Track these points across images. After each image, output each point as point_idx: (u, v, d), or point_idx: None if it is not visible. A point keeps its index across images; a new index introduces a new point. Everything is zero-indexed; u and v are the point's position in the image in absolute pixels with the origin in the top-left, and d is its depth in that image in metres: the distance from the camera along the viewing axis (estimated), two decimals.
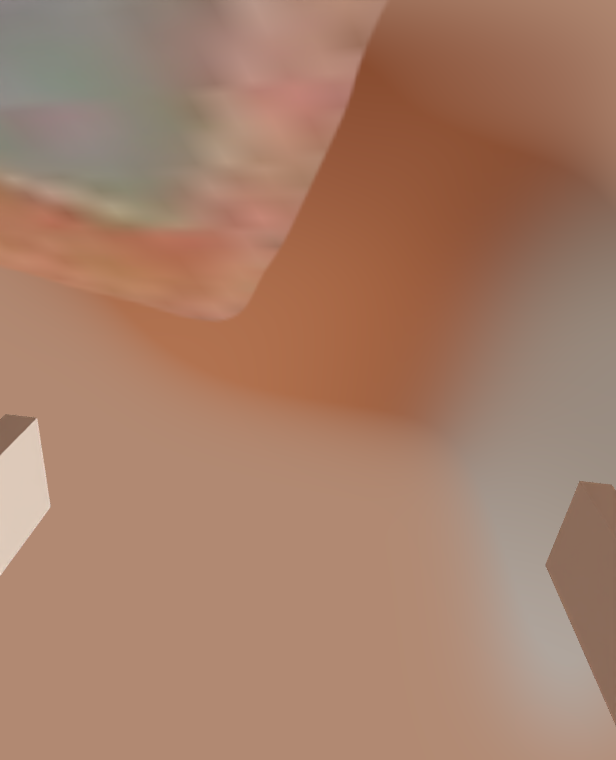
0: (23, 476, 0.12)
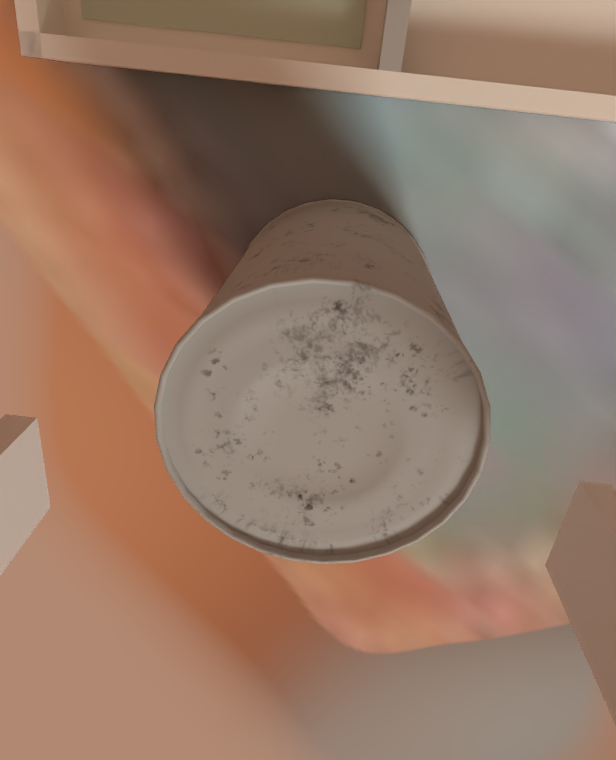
0: (23, 476, 0.12)
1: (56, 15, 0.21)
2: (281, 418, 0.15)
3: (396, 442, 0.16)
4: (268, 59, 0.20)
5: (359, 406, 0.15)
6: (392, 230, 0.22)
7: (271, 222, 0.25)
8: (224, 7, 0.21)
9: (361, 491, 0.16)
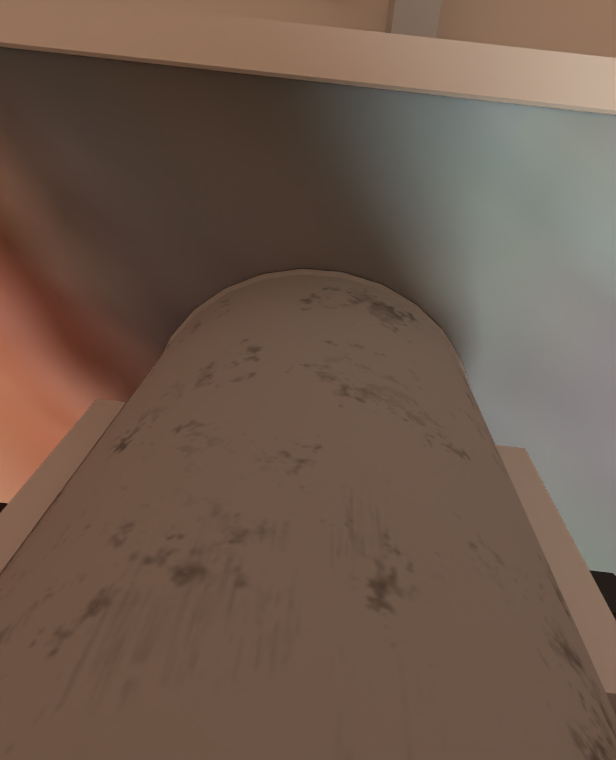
0: None
1: None
2: None
3: None
4: (165, 12, 0.10)
5: None
6: (413, 339, 0.12)
7: (203, 306, 0.14)
8: None
9: None
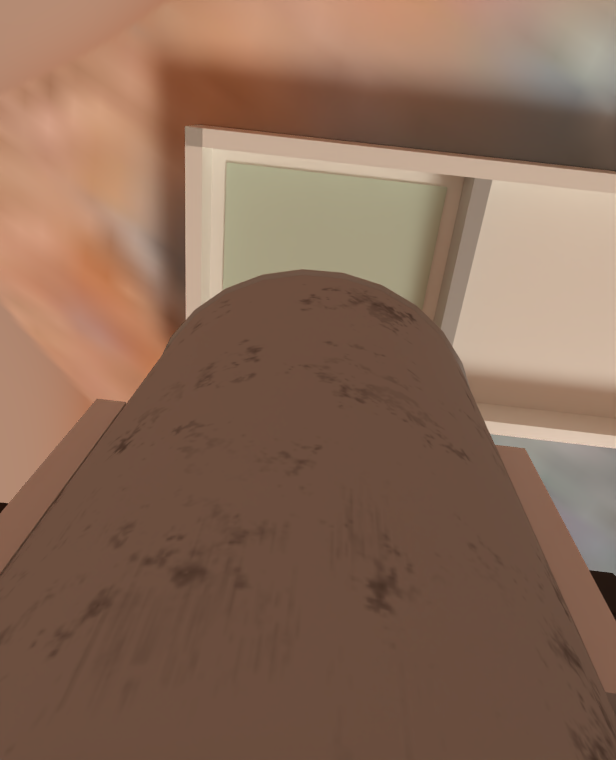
0: None
1: None
2: None
3: None
4: None
5: None
6: (413, 339, 0.12)
7: (203, 306, 0.15)
8: None
9: None
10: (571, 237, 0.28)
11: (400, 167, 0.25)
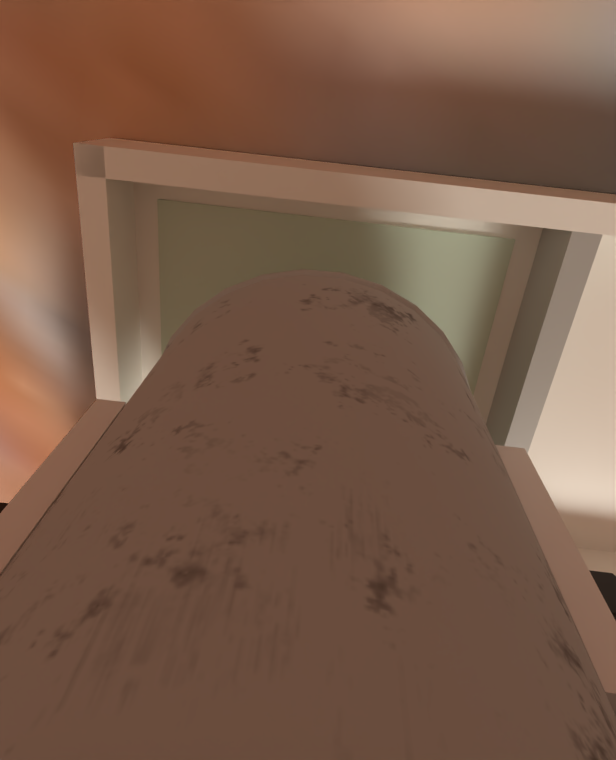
0: None
1: None
2: None
3: None
4: None
5: None
6: (413, 339, 0.12)
7: (203, 306, 0.15)
8: None
9: None
10: None
11: (444, 213, 0.14)
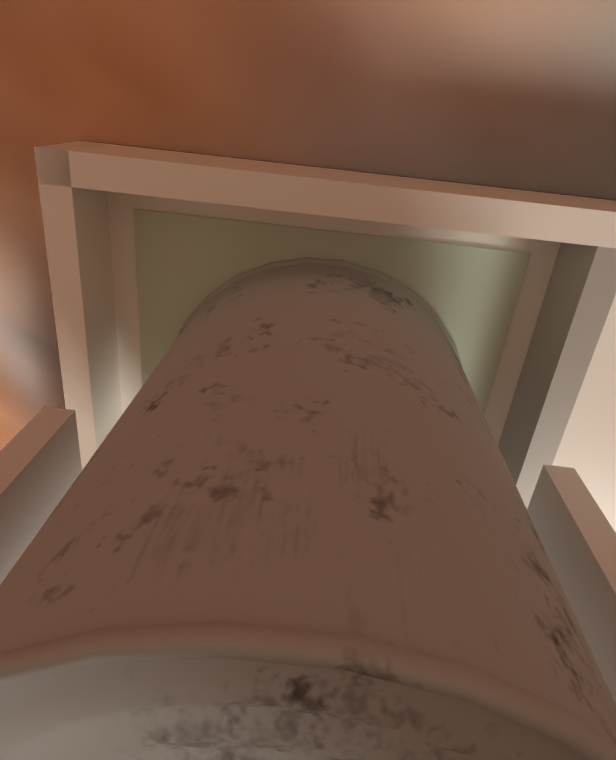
0: (63, 466, 0.13)
1: None
2: None
3: None
4: None
5: None
6: (410, 320, 0.13)
7: (215, 292, 0.16)
8: None
9: None
10: None
11: (453, 226, 0.13)
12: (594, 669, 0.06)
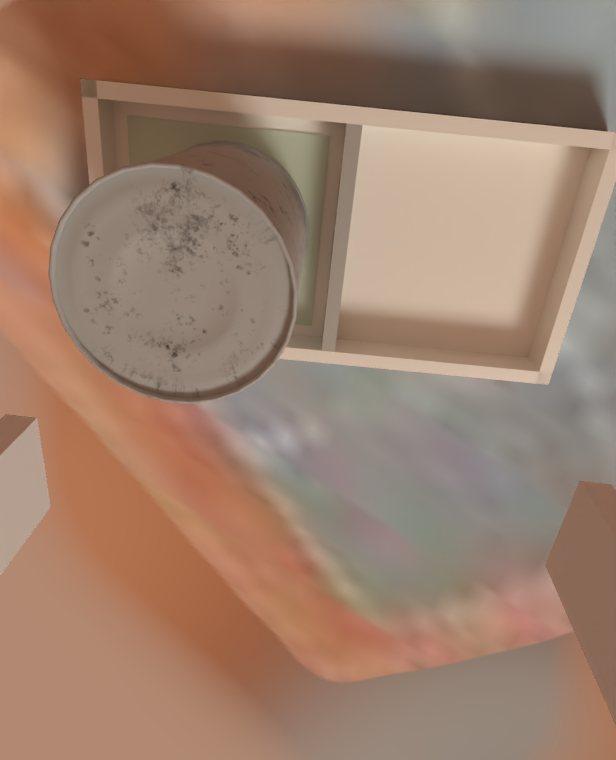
0: (23, 476, 0.12)
1: None
2: (145, 280, 0.21)
3: (232, 297, 0.21)
4: None
5: (201, 268, 0.20)
6: (260, 160, 0.27)
7: None
8: None
9: (212, 340, 0.22)
10: (447, 181, 0.30)
11: (278, 114, 0.27)
12: (274, 217, 0.21)
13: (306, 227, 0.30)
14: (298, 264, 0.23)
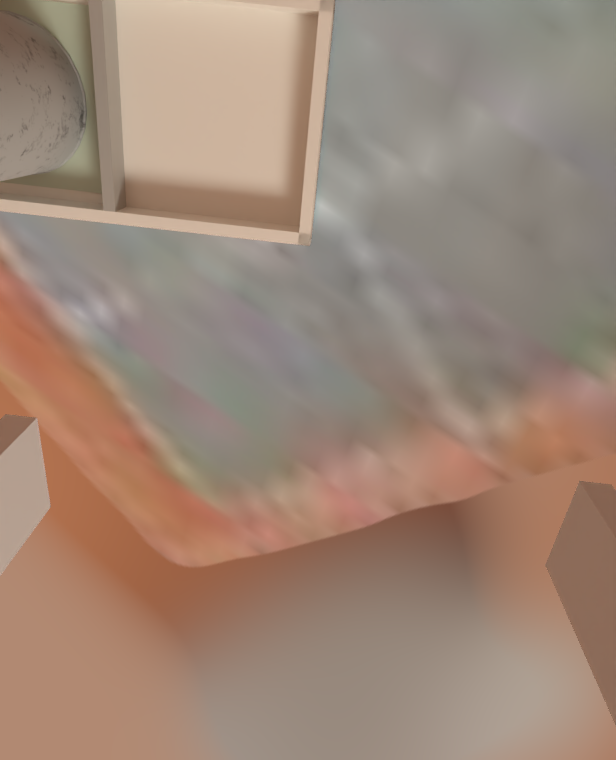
0: (23, 476, 0.12)
1: None
2: None
3: None
4: (44, 204, 0.37)
5: None
6: (13, 18, 0.31)
7: None
8: None
9: None
10: (200, 50, 0.34)
11: None
12: None
13: (77, 91, 0.34)
14: (2, 84, 0.27)
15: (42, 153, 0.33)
